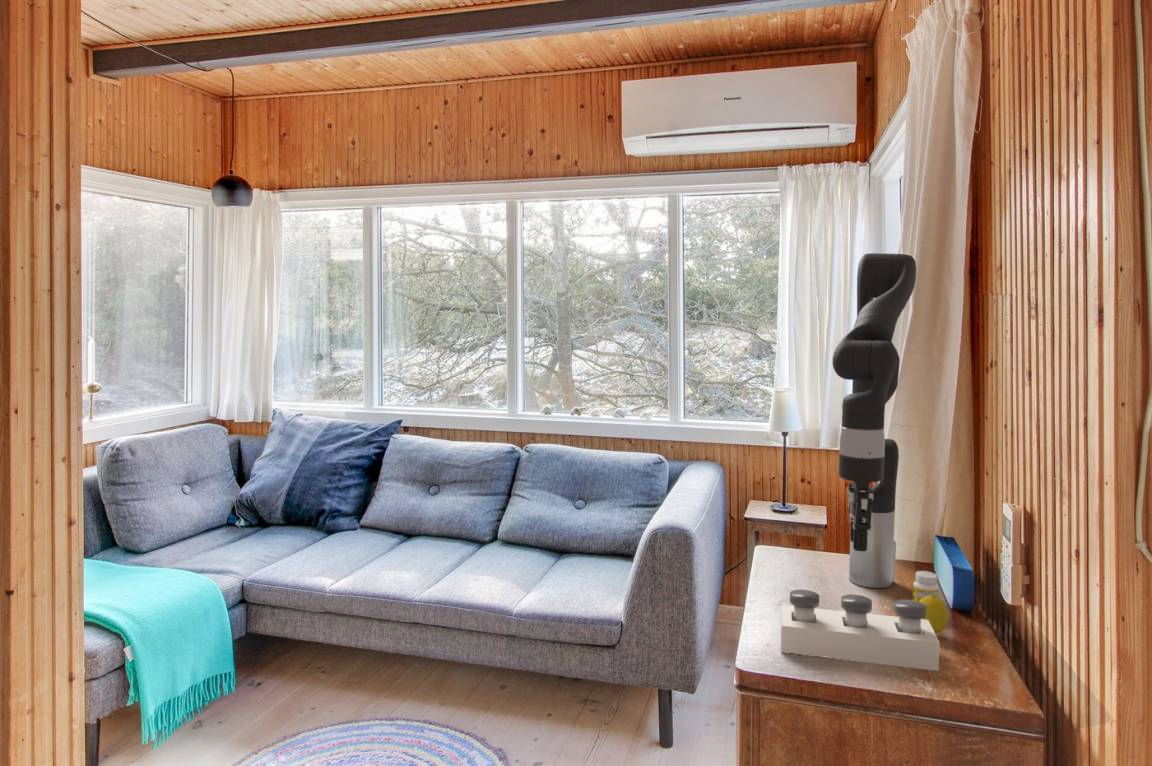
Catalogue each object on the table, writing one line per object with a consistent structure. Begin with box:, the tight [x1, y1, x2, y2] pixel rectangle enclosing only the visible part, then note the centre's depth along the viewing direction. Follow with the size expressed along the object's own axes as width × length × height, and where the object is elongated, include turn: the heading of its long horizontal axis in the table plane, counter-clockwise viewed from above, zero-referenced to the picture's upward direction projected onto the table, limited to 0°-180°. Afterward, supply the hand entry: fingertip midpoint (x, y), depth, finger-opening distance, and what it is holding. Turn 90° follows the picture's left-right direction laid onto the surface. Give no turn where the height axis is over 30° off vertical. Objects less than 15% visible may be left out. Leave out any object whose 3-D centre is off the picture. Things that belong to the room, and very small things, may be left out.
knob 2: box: [893, 598, 926, 634], centre depth 130 cm, size 5×5×6 cm
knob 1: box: [789, 589, 820, 623], centre depth 135 cm, size 5×5×6 cm
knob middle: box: [840, 594, 873, 629], centre depth 133 cm, size 5×5×6 cm
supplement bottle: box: [912, 570, 940, 602], centre depth 149 cm, size 5×5×8 cm
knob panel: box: [780, 604, 941, 672], centre depth 133 cm, size 26×10×5 cm, turn 75°
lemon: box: [919, 595, 949, 635], centre depth 139 cm, size 6×6×8 cm
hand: (858, 545), depth 132 cm, fingers open, 4 cm apart
